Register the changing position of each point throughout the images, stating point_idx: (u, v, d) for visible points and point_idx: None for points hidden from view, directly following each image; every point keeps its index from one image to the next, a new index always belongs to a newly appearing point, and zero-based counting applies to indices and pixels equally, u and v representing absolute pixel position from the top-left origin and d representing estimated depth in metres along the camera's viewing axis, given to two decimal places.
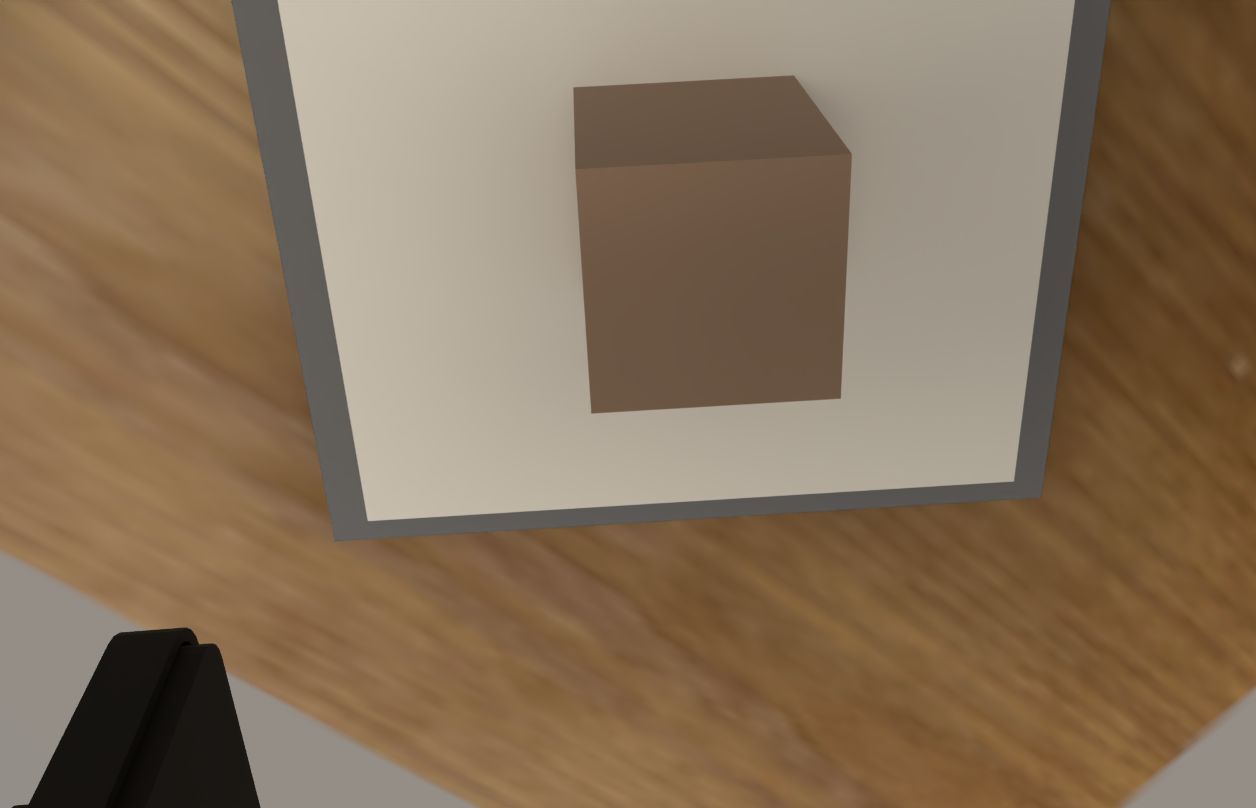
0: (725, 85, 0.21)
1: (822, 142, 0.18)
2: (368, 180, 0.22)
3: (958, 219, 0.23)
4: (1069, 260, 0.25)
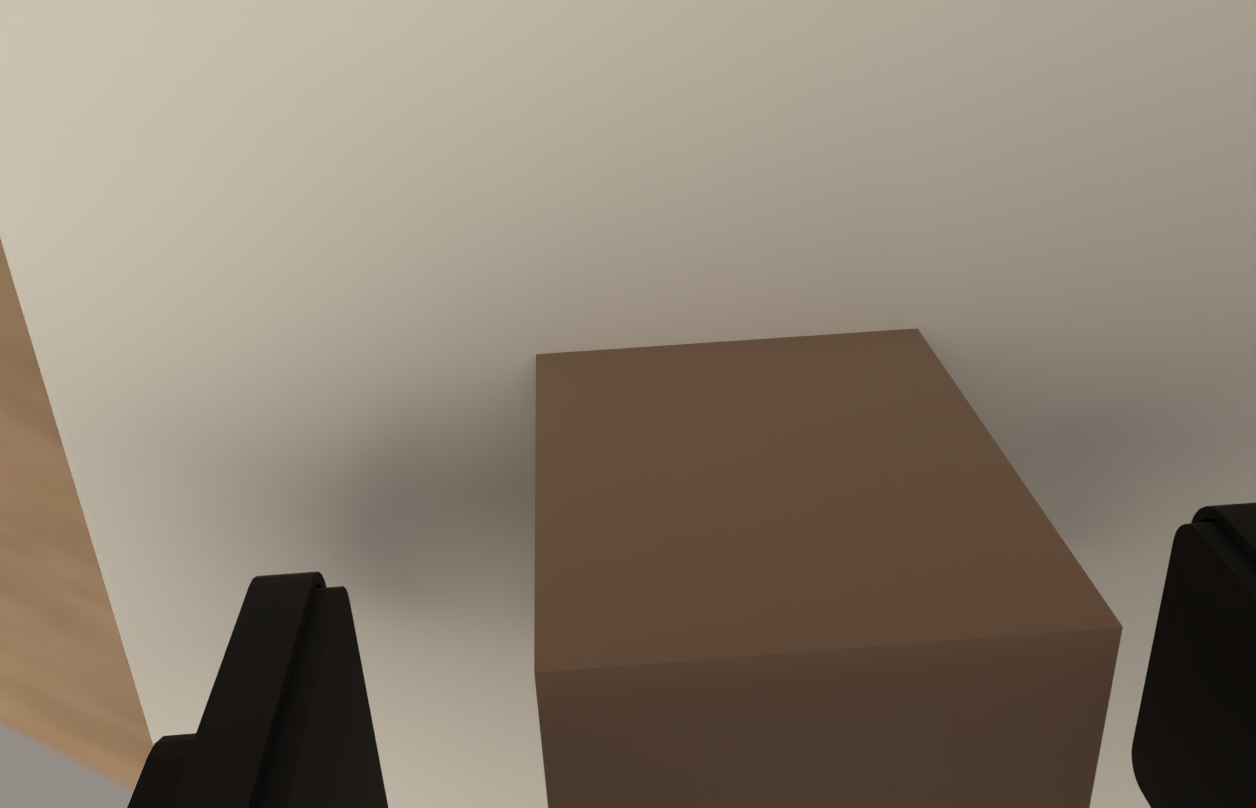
0: (803, 355, 0.12)
1: (1043, 573, 0.09)
2: (185, 504, 0.13)
3: None
4: None
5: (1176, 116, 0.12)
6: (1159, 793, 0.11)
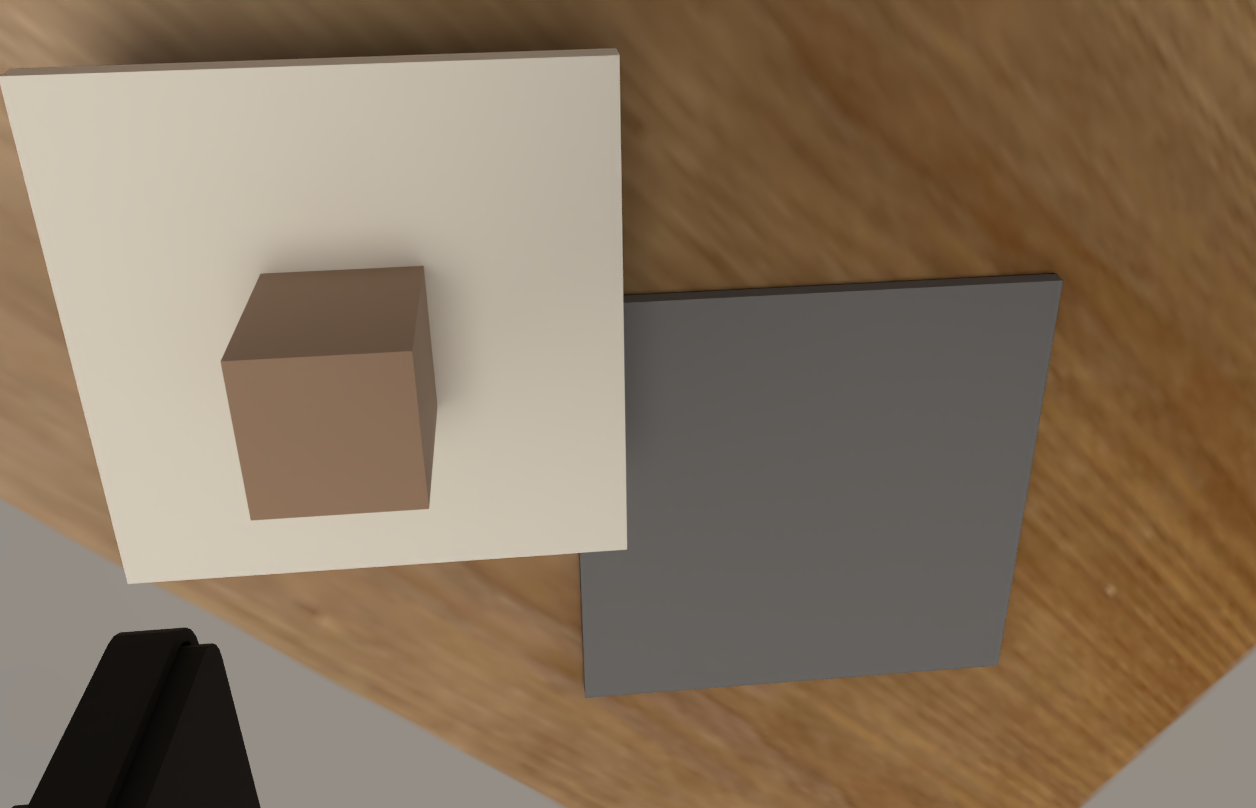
0: (369, 275, 0.30)
1: (399, 338, 0.26)
2: (110, 337, 0.30)
3: (558, 364, 0.32)
4: (1015, 542, 0.44)
5: (515, 180, 0.29)
6: None
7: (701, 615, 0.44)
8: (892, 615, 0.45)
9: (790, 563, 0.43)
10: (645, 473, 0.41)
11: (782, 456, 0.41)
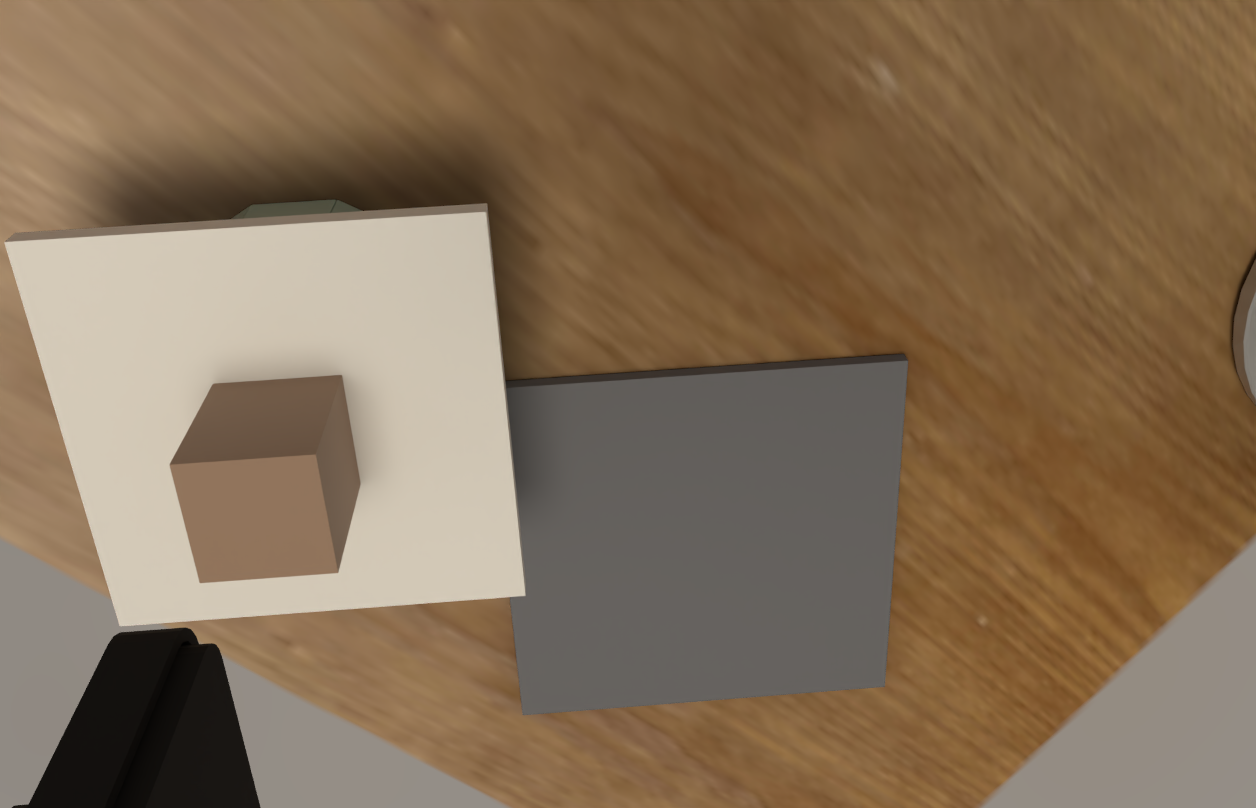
0: (297, 384, 0.37)
1: (308, 443, 0.34)
2: (98, 434, 0.38)
3: (456, 448, 0.39)
4: (889, 580, 0.50)
5: (410, 308, 0.37)
6: None
7: (618, 644, 0.51)
8: (786, 644, 0.52)
9: (692, 600, 0.50)
10: (560, 525, 0.48)
11: (677, 510, 0.48)
